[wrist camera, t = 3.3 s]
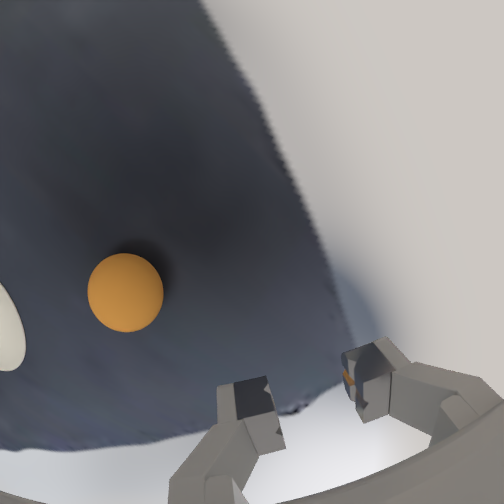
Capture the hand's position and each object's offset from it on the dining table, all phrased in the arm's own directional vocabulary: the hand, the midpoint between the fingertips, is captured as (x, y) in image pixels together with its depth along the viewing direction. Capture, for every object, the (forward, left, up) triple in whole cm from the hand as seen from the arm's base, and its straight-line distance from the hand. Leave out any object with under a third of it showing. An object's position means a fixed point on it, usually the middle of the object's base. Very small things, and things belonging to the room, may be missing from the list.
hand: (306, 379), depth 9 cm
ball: (-7, +7, -12) cm, 16 cm away
